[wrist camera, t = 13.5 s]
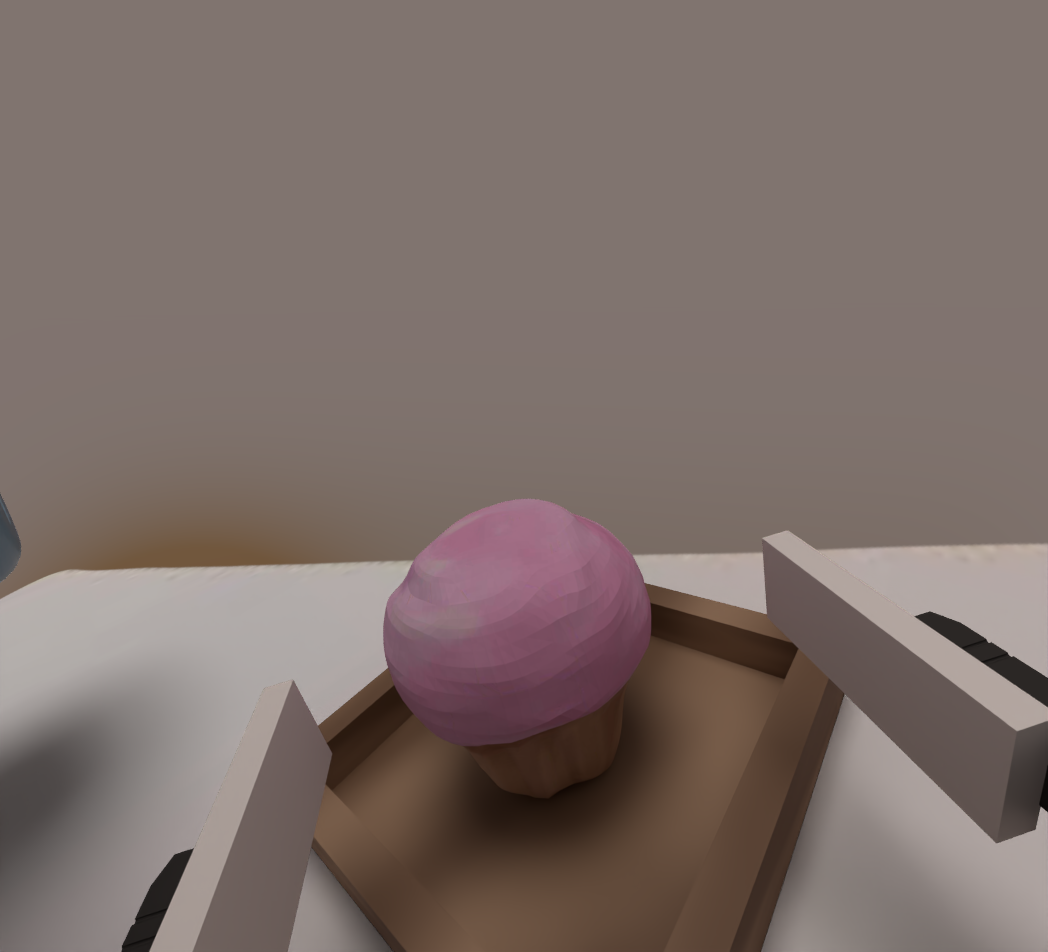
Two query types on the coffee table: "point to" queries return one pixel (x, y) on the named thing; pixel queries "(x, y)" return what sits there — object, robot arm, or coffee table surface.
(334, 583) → the coffee table surface
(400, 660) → the cupcake
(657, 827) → the serving tray
